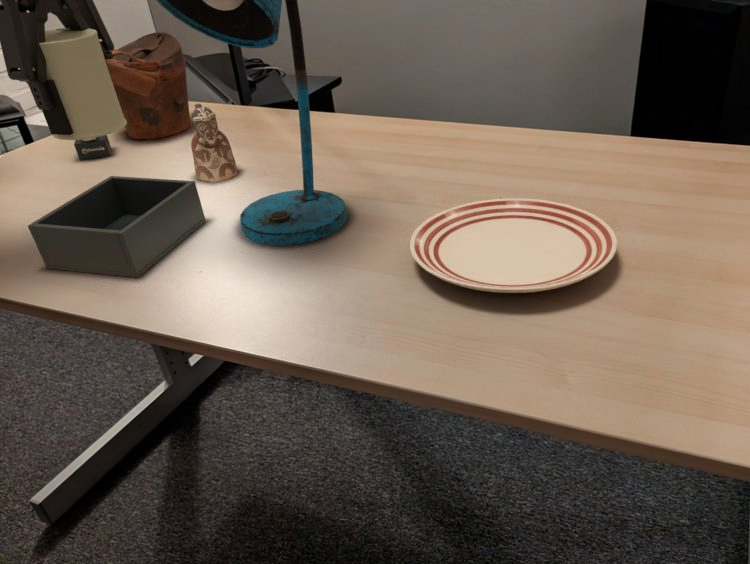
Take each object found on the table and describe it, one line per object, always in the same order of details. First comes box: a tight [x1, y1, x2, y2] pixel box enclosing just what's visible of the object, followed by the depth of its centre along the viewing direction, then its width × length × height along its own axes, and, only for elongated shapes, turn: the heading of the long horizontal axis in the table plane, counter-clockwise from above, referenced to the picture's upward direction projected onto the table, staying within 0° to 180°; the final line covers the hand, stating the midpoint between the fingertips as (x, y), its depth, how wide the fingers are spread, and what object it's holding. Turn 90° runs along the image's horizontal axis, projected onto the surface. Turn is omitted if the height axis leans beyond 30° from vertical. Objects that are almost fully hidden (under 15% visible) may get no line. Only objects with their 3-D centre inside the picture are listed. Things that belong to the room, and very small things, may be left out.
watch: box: [73, 135, 112, 161], centre depth 125 cm, size 6×8×11 cm
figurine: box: [190, 103, 238, 183], centre depth 114 cm, size 7×7×12 cm
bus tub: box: [27, 175, 207, 278], centre depth 94 cm, size 15×18×7 cm
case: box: [106, 31, 191, 140], centre depth 134 cm, size 18×20×18 cm
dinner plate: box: [409, 197, 618, 294], centre depth 88 cm, size 28×27×3 cm
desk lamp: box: [156, 0, 348, 246], centre depth 86 cm, size 16×22×45 cm
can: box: [33, 27, 127, 141], centre depth 83 cm, size 9×9×12 cm
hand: (87, 121), depth 86 cm, fingers closed on can, 9 cm apart
